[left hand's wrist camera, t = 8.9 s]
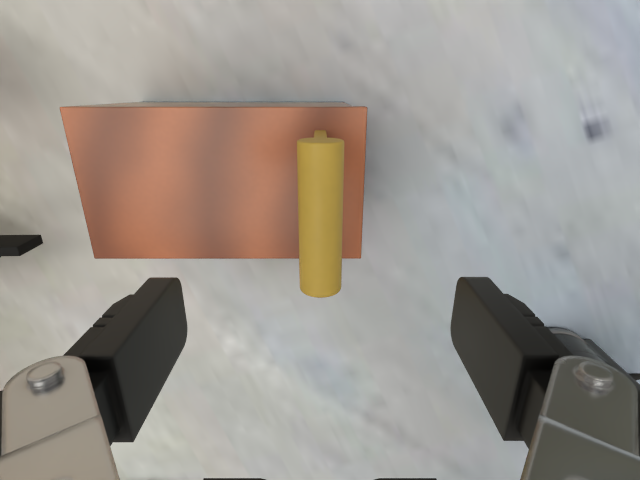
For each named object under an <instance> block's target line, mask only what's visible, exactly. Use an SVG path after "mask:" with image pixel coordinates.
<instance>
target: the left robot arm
mask: <svg viewBox="0 0 640 480" xmlns="http://www.w3.org/2000/svg"><path fill="white" fill-rule="evenodd" d="M451 337H452V342H453V345H454V347H455V349H456V351H457V353H458V355H459V357H460V358H461V360H462V362H463V364H464V366H465V368H466V370H467V372H468V374H469V376H470V377H471V379H472V381H473V383H474V385H475V387H476V389H477V391H478V393H479V395H480V396H481V398H482V400H483V402H484V404H485V406H486V408H487V410H488V412H489V414H490V416H491V417H492V419H493V421H494V423H495V425H496V427H497V429H498V431H499V433H500V435H501V436H502V438H503V440H504V441H524V442H525V443H526V445H527V447H528V448H529V451H528V455H527V458H526V462H525V465H524V469H523V472H522V476H521V479H520V480H640V384H639V383H637V382H636V380H639V379H640V374H628V373H627V372H626V371H624V370H623V369H622V368H621V367H620V366H619V365H618V364H617V363H616V362H615V361H614V360H612V359H611V358H610V357H609V356H608V355H607V354H606V353H605V352H604V351H603V350H602V349H600V348H599V347H598V346H597V345H596V344H595V343H594V342H593V341H592V340H585V339H582V338H581V337H580V336H579V335H577V334H576V333H574V332H572V331H570V330H567V329H562V328H547V327H546V326H544V323H543V322H542V321H541V320H540V319H539V318H538V317H535V314H534V313H533V312H532V311H531V310H530V309H529V308H528V307H527V306H526V305H525V304H524V303H523V302H521V301H519V300H517V299H516V298H514V297H512V296H510V295H509V294H503V293H502V292H501V291H500V289H499V288H498V287H497V286H496V285H495V284H494V283H493V282H492V281H491V279H489V278H488V277H460V278H459V280H458V282H457V286H456V292H455V299H454V306H453V313H452V320H451ZM186 338H187V321H186V314H185V307H184V300H183V293H182V287H181V283H180V280H179V279H178V278H149V279H148V280H147V281H146V282H145V283H144V284H143V285H142V286H141V287H140V288H139V290H138V291H137V292H136V293H135V294H134V295H128V296H127V297H125V298H123V299H121V300H120V301H118V302H116V303H114V304H113V305H112V306H111V307H110V308H109V309H108V310H107V311H106V312H105V313H104V314H103V315H102V318H99V319H98V320H97V321H96V322H95V323H94V324H93V327H91V328H90V329H89V330H88V331H87V332H86V333H85V334H84V335H83V336H82V337H81V338H80V339H79V340H78V341H77V342H76V343H75V344H74V345H73V346H72V347H71V348H70V349H69V350H68V351H67V352H66V353H65V354H64V355H63V356H58V357H53V358H49V359H45V360H42V361H39V362H37V363H35V364H32V365H30V366H28V367H26V368H25V369H23V370H21V371H20V372H18V373H17V374H16V375H14V376H13V377H12V378H11V379H10V380H9V381H8V382H7V384H6V385H5V387H4V389H3V391H0V480H120V479H119V476H118V472H117V469H116V465H115V462H114V458H113V455H112V451H111V448H110V446H111V444H112V443H113V442H134V440H135V438H136V436H137V434H138V432H139V430H140V428H141V427H142V425H143V423H144V421H145V419H146V417H147V415H148V413H149V412H150V410H151V408H152V406H153V404H154V402H155V400H156V398H157V397H158V395H159V393H160V391H161V389H162V387H163V385H164V383H165V381H166V380H167V378H168V376H169V374H170V372H171V370H172V368H173V366H174V365H175V363H176V361H177V359H178V357H179V355H180V353H181V351H182V350H183V348H184V345H185V342H186ZM204 480H265V479H261V478H204ZM375 480H436V478H379V479H375Z"/></svg>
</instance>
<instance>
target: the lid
mask: <svg viewBox="0 0 640 480" xmlns="http://www.w3.org/2000/svg"><path fill="white" fill-rule="evenodd" d="M60 111H61V115H62V120H63V124H64V128H65V133H66V137H67V141H68V146H69V150H70V154H71V158H72V163H73V167H74V171H75V176H76V180H77V184H78V189H79V193H80V197H81V202H82V206H83V210H84V214H85V219H86V223H87V227H88V232H89V236H90V240H91V245H92V249H93V253H94V257H95V258H299V268H300V289H301V291H302V292H303V293H304V294H306V295H308V296H312V297H329V296H333V295H335V294H337V293H338V292H339V291H340V289H341V269H342V258H361V244H362V220H363V196H364V173H365V149H366V126H367V107H365V106H69V107H60Z"/></svg>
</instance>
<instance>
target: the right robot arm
mask: <svg viewBox="0 0 640 480" xmlns="http://www.w3.org/2000/svg"><path fill="white" fill-rule="evenodd" d="M42 243H43V241H42V238H41V235H0V257H1V256H21V255H22V254H24V253H26V252H28V251H30V250H32V249H33V248H35V247H37V246H39V245H41V244H42Z"/></svg>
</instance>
